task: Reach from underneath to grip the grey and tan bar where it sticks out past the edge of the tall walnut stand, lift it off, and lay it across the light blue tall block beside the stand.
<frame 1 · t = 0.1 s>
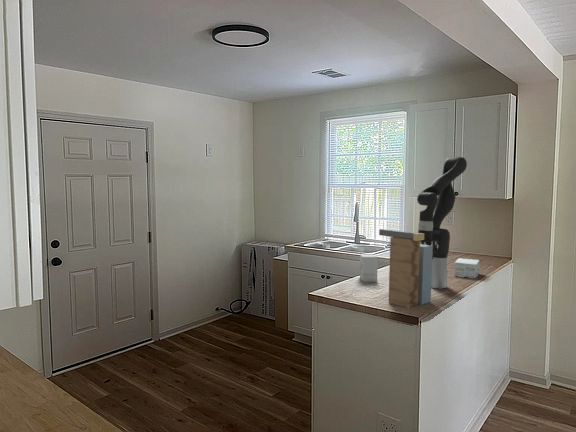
hand: (423, 259, 235), 17 cm above the worktop, tool pointing down, fingers open, 8 cm apart
supplement box 2: (368, 280, 260), on the worktop
supplement box: (466, 275, 277), on the worktop
press stand: (402, 303, 210), on the worktop
grey and tan bar: (398, 237, 211), point 32 cm above the worktop, touching press stand
light blue tall block: (416, 300, 216), on the worktop
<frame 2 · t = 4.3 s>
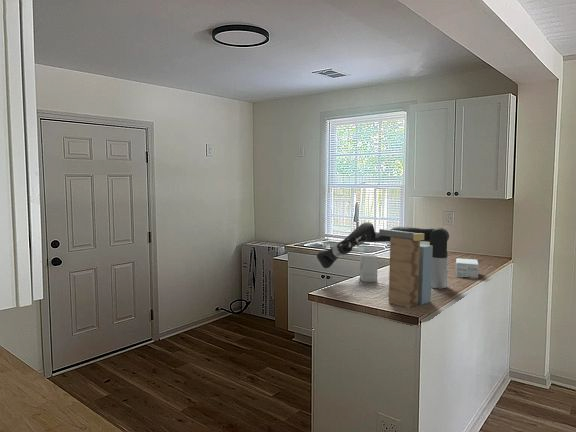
hand: (360, 237, 231), 29 cm above the worktop, tool pointing upward, fingers open, 8 cm apart
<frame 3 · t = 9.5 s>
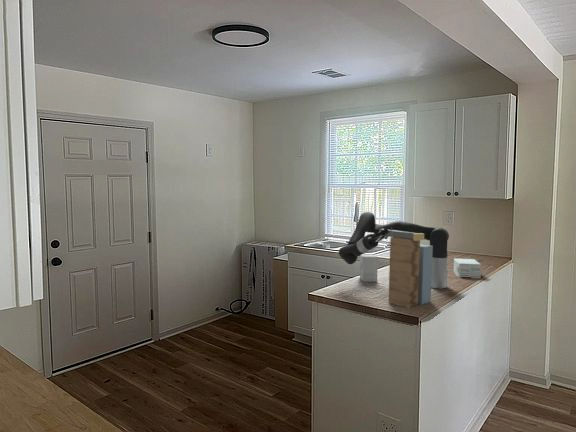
hand: (389, 230, 215), 35 cm above the worktop, tool pointing upward, fingers closed on grey and tan bar, 3 cm apart
grey and tan bar: (398, 237, 211), point 32 cm above the worktop, touching gripper, press stand
when the fingers open (32 cm above the worktop, at t = 17.2 s): grey and tan bar drops 1 cm, resting on light blue tall block.
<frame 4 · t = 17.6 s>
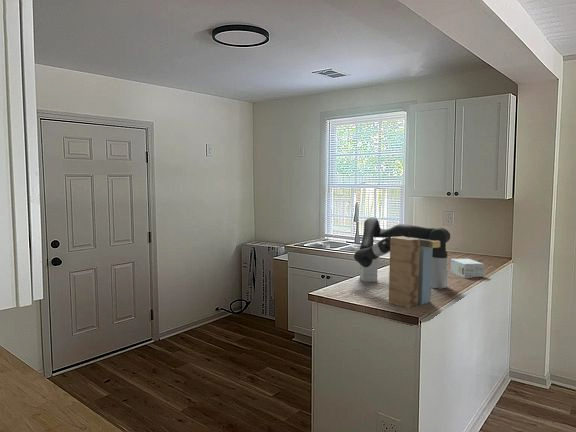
hand: (405, 234, 220), 32 cm above the worktop, tool pointing upward, fingers open, 6 cm apart
grey and tan bar: (414, 244, 215), point 28 cm above the worktop, touching light blue tall block
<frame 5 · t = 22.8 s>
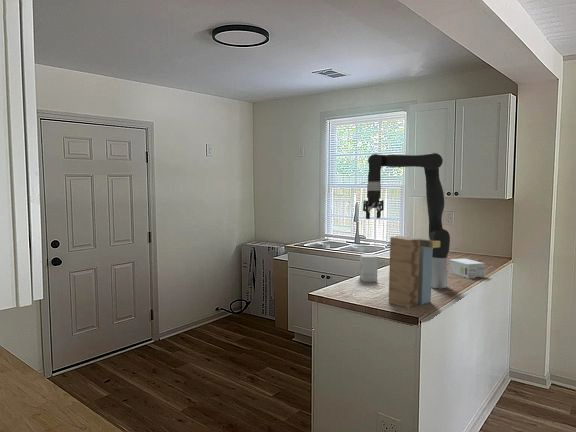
hand: (373, 218, 244), 38 cm above the worktop, tool pointing down, fingers open, 8 cm apart
at the end: grey and tan bar inside the target area on the light blue tall block (0.6 cm from its centre), point 28.0 cm above the light blue tall block's base; grey and tan bar touching light blue tall block; the gripper is holding nothing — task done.
